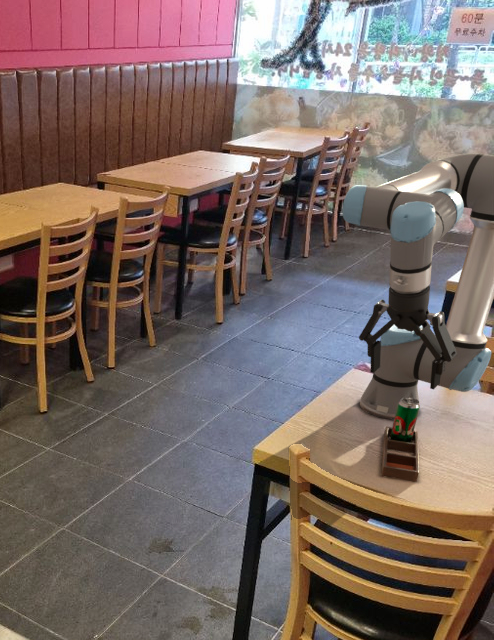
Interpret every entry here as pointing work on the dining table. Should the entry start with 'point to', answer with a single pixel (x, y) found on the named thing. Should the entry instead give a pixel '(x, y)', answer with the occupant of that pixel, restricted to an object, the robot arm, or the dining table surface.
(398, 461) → the caddy
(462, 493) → the dining table surface
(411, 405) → the soda can
